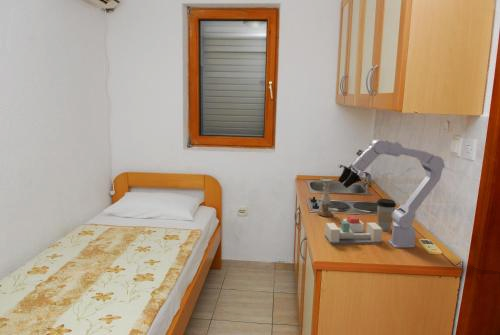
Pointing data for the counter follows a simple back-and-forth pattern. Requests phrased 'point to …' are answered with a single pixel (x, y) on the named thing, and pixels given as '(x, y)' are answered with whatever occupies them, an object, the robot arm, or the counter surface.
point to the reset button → (353, 219)
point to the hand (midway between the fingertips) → (342, 184)
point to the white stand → (370, 237)
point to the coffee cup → (385, 213)
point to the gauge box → (356, 227)
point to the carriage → (345, 230)
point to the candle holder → (325, 198)
